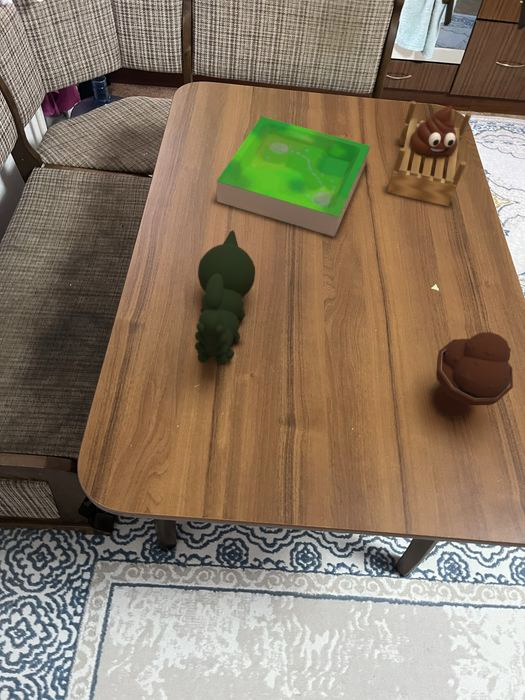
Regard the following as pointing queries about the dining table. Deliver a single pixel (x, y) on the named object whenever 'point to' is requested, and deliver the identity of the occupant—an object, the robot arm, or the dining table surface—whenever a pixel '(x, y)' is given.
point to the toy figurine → (222, 299)
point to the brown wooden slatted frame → (425, 168)
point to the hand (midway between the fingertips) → (484, 26)
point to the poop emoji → (435, 135)
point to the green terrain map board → (293, 175)
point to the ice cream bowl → (473, 373)
